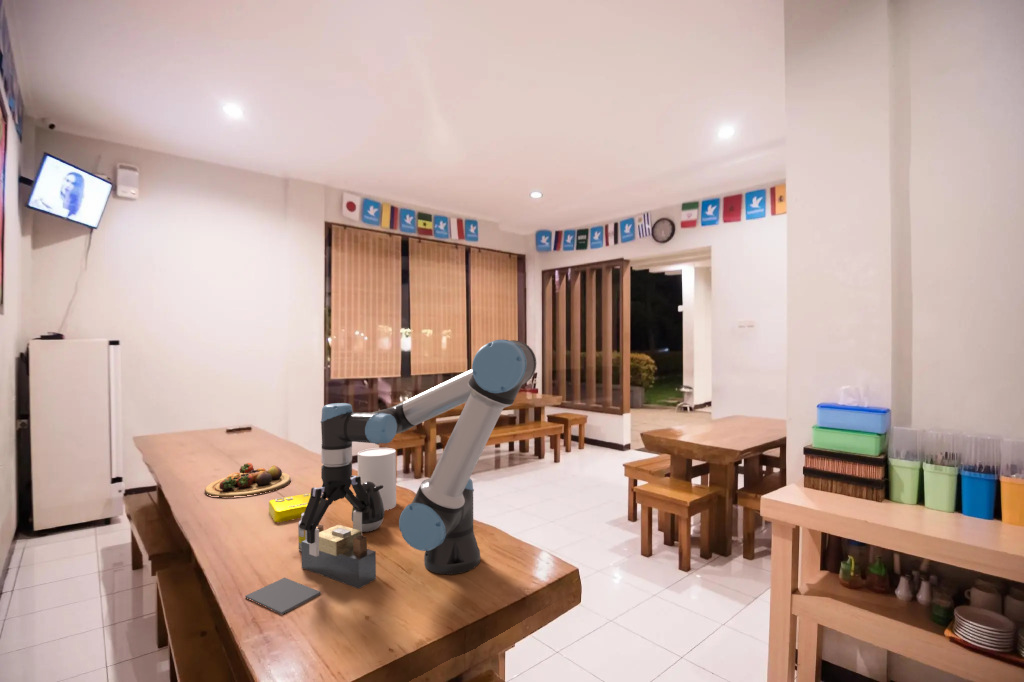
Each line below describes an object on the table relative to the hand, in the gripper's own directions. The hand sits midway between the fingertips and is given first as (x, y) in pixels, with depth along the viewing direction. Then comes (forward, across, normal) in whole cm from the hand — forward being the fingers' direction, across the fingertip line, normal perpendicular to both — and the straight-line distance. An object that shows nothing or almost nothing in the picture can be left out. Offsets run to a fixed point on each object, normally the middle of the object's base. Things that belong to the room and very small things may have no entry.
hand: (336, 544), depth 123 cm
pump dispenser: (+8, -25, -16) cm, 31 cm away
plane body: (+7, 0, 0) cm, 7 cm away
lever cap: (0, 0, 0) cm, 0 cm away
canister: (+8, -42, -30) cm, 52 cm away
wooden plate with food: (+9, -33, -97) cm, 103 cm away
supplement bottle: (+8, -6, -20) cm, 22 cm away
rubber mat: (+7, +14, -2) cm, 16 cm away
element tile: (+8, -23, -51) cm, 56 cm away
